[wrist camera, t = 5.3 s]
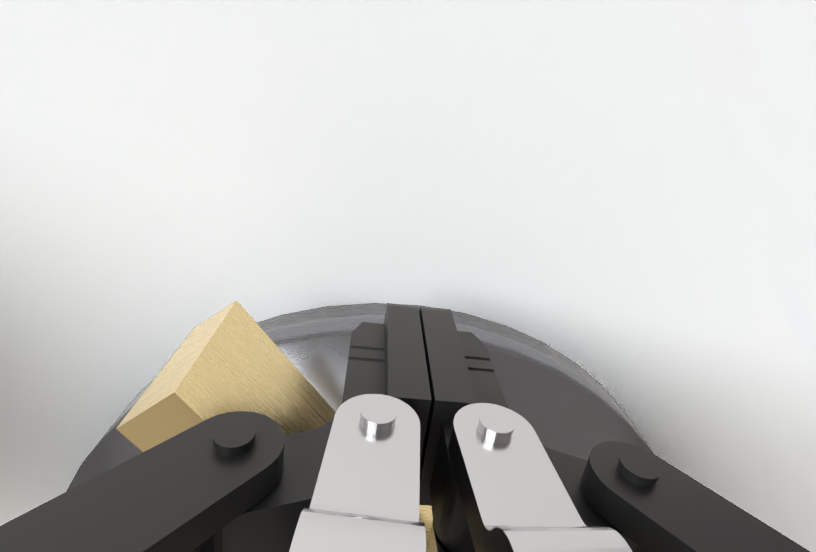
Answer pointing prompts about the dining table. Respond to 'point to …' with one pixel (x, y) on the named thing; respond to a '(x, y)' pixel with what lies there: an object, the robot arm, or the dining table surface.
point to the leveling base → (507, 348)
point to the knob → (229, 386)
